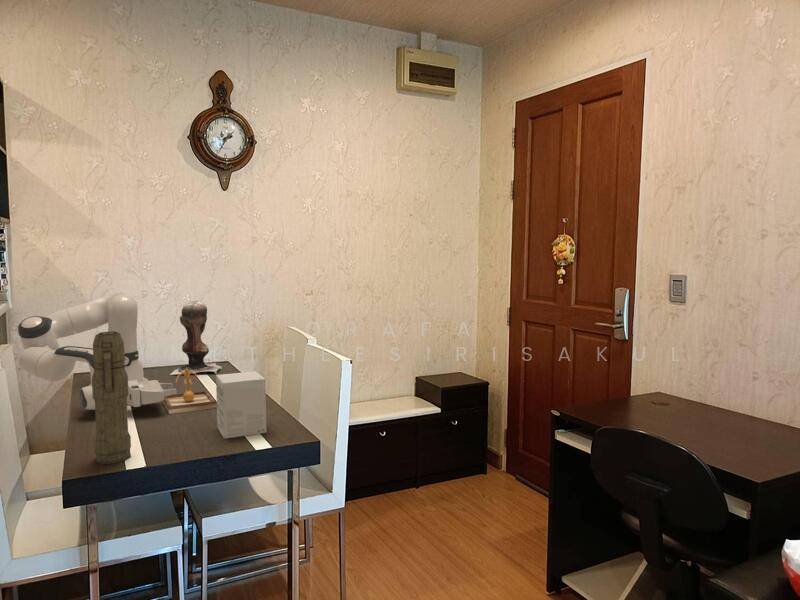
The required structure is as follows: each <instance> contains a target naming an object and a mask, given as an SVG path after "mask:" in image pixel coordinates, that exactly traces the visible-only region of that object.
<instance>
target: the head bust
mask: <svg viewBox="0 0 800 600" xmlns="http://www.w3.org/2000/svg"><path fill="white" fill-rule="evenodd" d="M207 314H208V308H207V306H206V304H205V303H203V302H200V301H199V300H191V301H189V302H187V303H186V304H184V305H183V306H182V309H181V315H180V316H179V321H180V325H182V326H183V327H184V328H185V332H186V335H187V336H186V337H187V338H186V341H184V343H183V344H182V347H181V350H182V352H183V353H184V354H186V356H187V358H188V363H186V364H185V365H181V366H179V367H178V368H176V369H174V370H173V371H172V372H171V373H170V374H169V376H175V375H177V376H178V375H179V374H181V373H182V372H184V371H185V370H186V369H188V370H189V371H191V372H194V373H196V374H197V373H208V372H212V373H214V374H216V375H218V374H217V373H218V371H219V370H223V366H220V365H218V364H217V363H215V362H214V363H213V362H212V363H208V362H207V363H206V362H205V358H206V355H208V354H209V352H210V350H209V348H208V345H207V344H205V343H204V342H203V341H202V334H203V333H204V331H205V328H206V323H207V321H208V317H207Z"/></svg>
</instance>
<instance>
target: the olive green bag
mask: <svg viewBox="0 0 800 600" xmlns="http://www.w3.org/2000/svg"><path fill="white" fill-rule="evenodd" d="M92 348H93V361H94V364H95V367H94V373H93V376H92V394H93V399H94V401H95V410H94V414H95V438H94V440H93V442H94V453H95V462H96V463H97V464H100V465H101V464H103V465H109V464H116V463H117V464H118V463H122V462H124V461H126V460H128V459H130V458H131V447H132V440H131V439H132V438H131V434H130V432H129V419H128V418H129V417H128V406H127V396H128V394H129V393H128V375H127V373H126V370H125V365H124V360H125V356H124V342H123V339H122V337H121V334H120V333H118V332H108V331H102V332H97V334H95V336H94V338H93V342H92Z"/></svg>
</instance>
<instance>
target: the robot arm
mask: <svg viewBox="0 0 800 600" xmlns="http://www.w3.org/2000/svg"><path fill="white" fill-rule="evenodd" d="M138 311H139V309H138V303H137V300H136V299H135V298H134V297H133V296H131V295H128V294H126V293H123V292H115V293H111V294H108V295H106V296H101V297H99V298H96V299H93V300H91V301H88V302H84V303H80V304H77V305H73V306H70V307H66V308H63V309H60V310H57V311H55V312H53V313H52V312H51V313H50V314H48V315H46V316H41V315H38V316H37V315H35V316H34V315H33V316H29V317H27V318H24V319H23V320H22V321H21V322H20V323H19V324H18V326H17V333H18V336H19V337H20V340H21V344H22V346H23V349H24V350H22V351H21V353H20V354H19V357H18V365H19V366H20V368H21V369H22V370H23V371H25V372H27V373H28V374H30V375H32V376H35V377H37V378H39V379H42V380H45V381H48V382H60V381H62V380H64V379H66V378H67V377H69V375H70V374H71V373H72V372H73V371H74V368H75V366H76V362H83V363H87V365H88V367H89V371H90V372H89V373H90V383H89V385H87V386H84V387H81V388H80V391H79V396H80V397H79V400H80V404H81V406H82V408H83V409H84V410H89V411H90V410H91V411H95V401H94V399H93V394H92V376H93V373H94V367H95V364H94V361H93V347H92V348H91V347H84V346H83V347H82V346H76V345H74V346H72V345H66V346H62V347H60V345H59V342H58V339H61V338H65V337H71V336H75V335H77V334H81V333H84V332H87V331H91V330H95V329H97V328H99V327H102V326H103V325H107V324H108V325H107V326H108V327H107V332H118V333H120V334H121V337H122V339H123V342H124V356H125V360H124V365H125V370H126V373H127V375H128V393H129V394H128V396H127V407H134V408H139V407H141V406H142V405H149V404H155V403H161V402H163V400H164V396H169V395H173V394H178V391H177V388H175V387H174V384H173V383H172V382H167V383H166V382H159V380H157V379H152V380H149V379H148V378H146V377H144V367H143V363H142V362H141V361H140V360H139V356H140V354H139V350H138V336H137V335H138V333H137V330H138V329H137V328H138Z"/></svg>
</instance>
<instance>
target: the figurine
mask: <svg viewBox="0 0 800 600" xmlns="http://www.w3.org/2000/svg"><path fill="white" fill-rule="evenodd" d="M182 375H183V376H184V379H183V384H184V389H185V391H184V394H183V399H184V400H185V401H186V402H190V401H192V400H193V399H194V393H193V392H194V391H192V389H191V387H192V378H190V375H195V377H196V379H197V380H198V381H200V377H199V376H198V375H197V372H196V373H194V372H191V371H189V370H188V369H186V370H185V371H184V372H182V373H181V374H177V378H176V379H175V383H178V380H179V378H180V376H182ZM187 384H189V386H188V387H189V389H188V387H187Z"/></svg>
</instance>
